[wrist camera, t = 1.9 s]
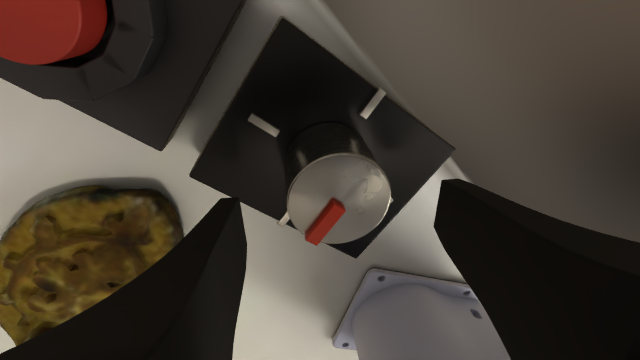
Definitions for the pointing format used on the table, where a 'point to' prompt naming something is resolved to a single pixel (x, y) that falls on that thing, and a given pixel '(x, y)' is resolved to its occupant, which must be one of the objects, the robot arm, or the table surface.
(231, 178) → the dial plate
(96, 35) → the power button
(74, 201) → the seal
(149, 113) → the power block
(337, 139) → the dial
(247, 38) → the table surface
